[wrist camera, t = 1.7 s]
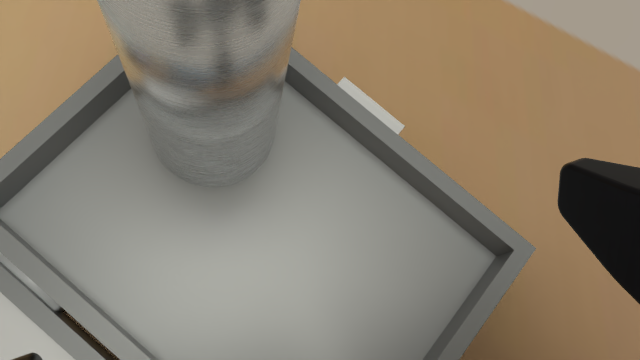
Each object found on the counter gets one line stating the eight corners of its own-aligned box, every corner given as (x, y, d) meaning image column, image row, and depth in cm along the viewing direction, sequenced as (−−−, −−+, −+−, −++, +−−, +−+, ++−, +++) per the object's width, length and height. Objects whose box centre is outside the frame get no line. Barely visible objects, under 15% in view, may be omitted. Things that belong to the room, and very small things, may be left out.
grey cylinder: (298, 125, 23) (375, -137, 11) (217, 212, 22) (197, 27, 9) (209, 52, 23) (184, -286, 11) (125, 132, 22) (-16, -150, 9)
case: (514, 246, 24) (545, 235, 22) (318, 524, 20) (329, 547, 18) (218, 2, 25) (217, -34, 23) (-21, 221, 21) (-53, 205, 19)
